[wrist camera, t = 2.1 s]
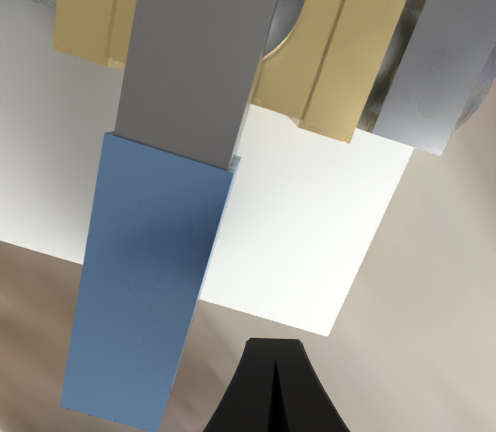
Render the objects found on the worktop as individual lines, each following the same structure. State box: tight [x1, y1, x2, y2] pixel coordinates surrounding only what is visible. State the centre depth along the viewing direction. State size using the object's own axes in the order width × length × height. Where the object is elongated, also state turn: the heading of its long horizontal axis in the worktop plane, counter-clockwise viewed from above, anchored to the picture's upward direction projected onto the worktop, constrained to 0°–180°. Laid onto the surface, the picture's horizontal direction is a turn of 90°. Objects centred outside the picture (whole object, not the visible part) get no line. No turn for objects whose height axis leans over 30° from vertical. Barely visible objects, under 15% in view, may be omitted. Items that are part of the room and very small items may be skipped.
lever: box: [60, 0, 305, 432], centre depth 8 cm, size 13×3×2 cm, turn 163°
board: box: [0, 0, 414, 337], centre depth 12 cm, size 18×19×1 cm
